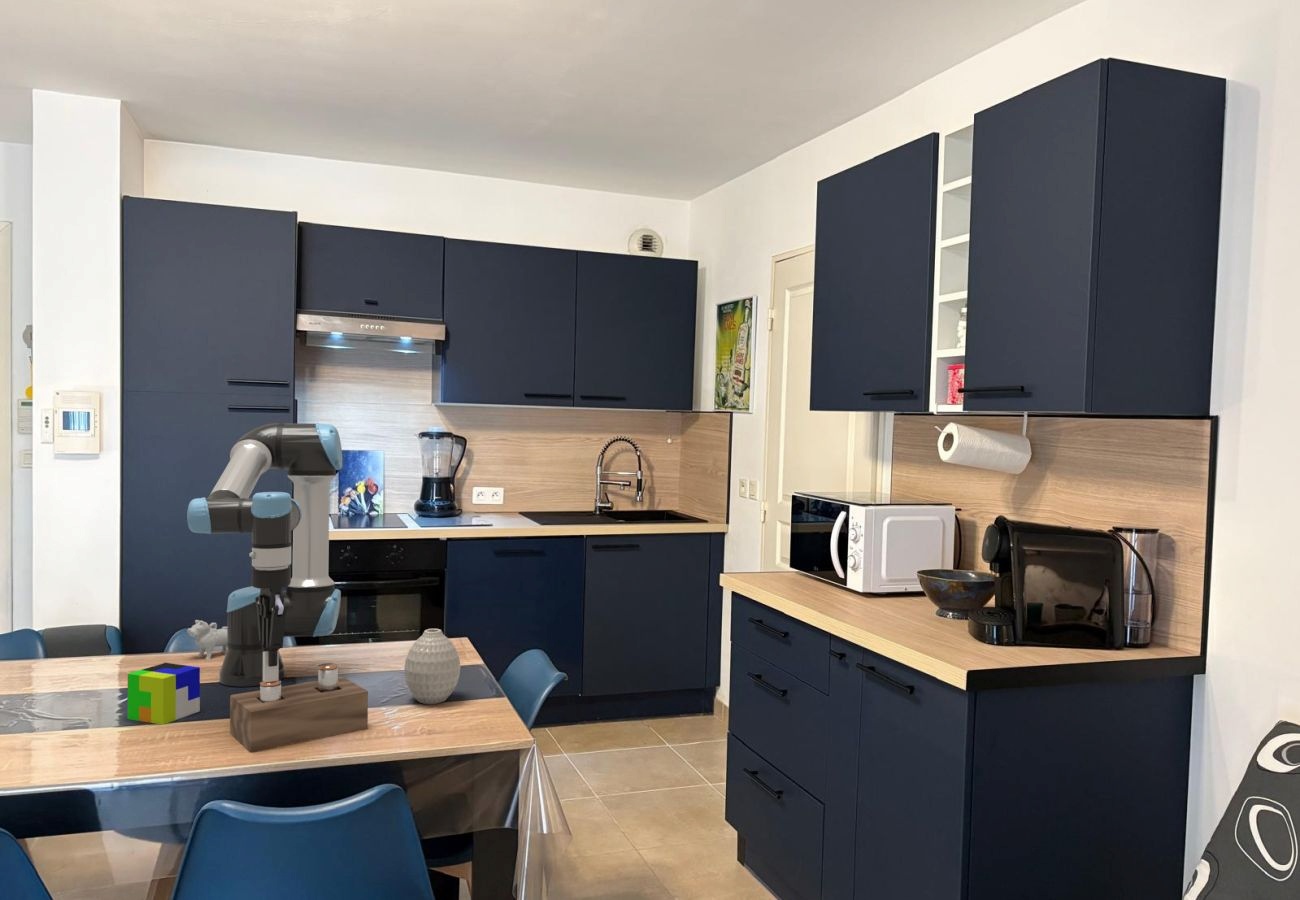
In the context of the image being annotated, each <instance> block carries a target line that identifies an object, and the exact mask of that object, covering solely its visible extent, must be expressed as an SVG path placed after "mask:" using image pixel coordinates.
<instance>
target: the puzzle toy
mask: <svg viewBox="0 0 1300 900" xmlns="http://www.w3.org/2000/svg"><path fill="white" fill-rule="evenodd" d="M200 701H201V667H200V666H192V665H185V664H178V663H170V662H169V663H168V662H163V663H160V664H156V665H154V666H150V667H147V668H143V669H139V670H136V671H133V672H129V673H127V720H130V721H131V720H132V721H137V722H145V723H150V724H151V723H152V724H156V725H157V724H158V725H162V726H163V725H167V724H169V723H172V722H175V721H176V720H180V719H182V718H185V717H188V716H190V715H194V714H195V713H199V712H200V711H201V709H200V707H201V706H200V705H201V702H200Z"/></svg>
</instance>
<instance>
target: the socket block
mask: <svg viewBox="0 0 1300 900" xmlns="http://www.w3.org/2000/svg"><path fill="white" fill-rule="evenodd" d="M368 695H369V691H368V690H366V689H365V688H363V687H361V686H360V685H358V684H356V683H355V682H353V681H351V680H349V679H348V678H346V677H344V676H338V690H334V691H328V692H323V693H321V692H319V691H318V680H313V681H308V682H301V683H297V684H296V683H295V684H291V685H285V686H284V685H283V686H281V700H277V701H271V702H265V703H262V702H261V701H260V689H258V690H254V691H248V692H242V693H236V694H231V695H229V697H230V698H229V734H230V736H233V738H234V739H236V741H238V742H239V743H240V744H241V745H242V746H243V747H244V748H245V749H246V748H247V749H246V750H247V751H248V752H249V753H253V752H257V751H258V752H259V751H263V750H267V749H274V748H278V747H277V746H279V747H283V746H282V745H284V746H288V745H292V744H291V743H293V744H297V742H298V743H301V742H306V741H312V740H317V739H322V738H326V737H332V736H336V735H341V734H342V735H343V734H347V733H351V732H356V731H361V730H366V729H369V726H368V724H369V723H368V721H369V718H368V717H369V716H368V715H369V714H368V713H369V710H368V709H369V696H368ZM287 744H288V745H287ZM273 747H274V748H273Z"/></svg>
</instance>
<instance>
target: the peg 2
mask: <svg viewBox="0 0 1300 900" xmlns="http://www.w3.org/2000/svg"><path fill="white" fill-rule="evenodd" d="M317 667H318V668H317V669H318V670H317V677H318V679H317V681H318V691H319V692H321V693H323V692H328V691H334V690H338V677H339V664H338V663H337V662H335V663H334V662H325V663H321V664H318V666H317Z"/></svg>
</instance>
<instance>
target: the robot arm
mask: <svg viewBox="0 0 1300 900" xmlns="http://www.w3.org/2000/svg"><path fill="white" fill-rule="evenodd" d="M342 448H343V447H342V442H341V438H340V434H339V431H338V429H337V427H336V426H334V425H333V424H326V423H319V422H317V423H297V422H296V423H295V422H294V423H293V422H292V423H290V422H289V423H287V422H286V423H282V422H273V423H267V424H263V425H261V426H259V427H255V428H254V429H252V430H251V431H250V430H249V432H247V433H245V434H244V435H242V436H241V437H240V438H239V439H238V440H237V441H236V442H235V443H234V445H233V447H231V449H230V452H229V459H230V460H229V462H228V464H227V465H226V467H225V469H224V470H223V472H222V474H221V476H220V477H219V478H218V480H217V482H216V484H215V486H214V487H213V488H212V491H211V492H210V494H209V496H208V497H205V496H204V497H203V496H202V497H201V498H200V497H199V498H194V499H191V500H190V502H189V503H188V507H187V515H186V516H187V517H186V518H187V526H188V529H189V531H191V532H192V533H195V534H208V535H212V534H213V535H214V534H251V552H249V554H248V555H249V557H250V558H251V566H252V567H254V568H252V570H251V580H250V581H251V586H247V587H243V588H239V589H236V590H234V591H232V592H231V593H230V594H229V595H228V598H227V609H226V615H227V617H226V618H227V619H226V620H227V621H226V622H227V623H226V624H227V625H226V627H227V648H226V653H225V656H224V659H223V662H222V665H221V668H220V671H219V683H220V684H222V685H224V686H228V687H255V686H260V682H261V681H263V682H265V683H266V682H272V681H278V679H279V680H281V681H282V679H284V677H285V673H286V672H285V669H286V668H285V664H284V662H283V660H282V656H281V653H280V649H283V647H284V638H289V637H291V638H292V637H313V638H316V637H324V636H328V635H329V636H330V635H331V634H333V632H334V631H335V629H336V626H337V622H338V620H339V619H338V618H339V614H340V609H341V601H342V600H341V595H342V594H341V593H342V592H341V590H340V589H338V588H335V585H336V584H335V581H334V580H333V579H332V578H331V577H330V576H329V565H330V564H329V561H330V560H329V555H330V554H329V550H330V549H329V547H330V545H329V544H330V484H331V483H332V481H333V480H334V479H335V478H336V477H337V471H340V470H341V469H342V468H343V465H344V464H343V450H342ZM271 469H272V470H276V469H277V470H278V469H279V470H287V478H289V480H291V481H292V483H293V498H292V497H291V494H290V493H289V492H283V491H263V492H256V493H254V495H253V496H252V498H250V496H251V494H252V492H253V490H254V488H255V486H256V485H257V482H258V481H259V478H260V476H261V475H262V474H264V473H266V472H267V471H269V470H271ZM336 470H337V471H336ZM292 531H293V533H292ZM292 537H293V538H292ZM291 538H292V539H291ZM291 541H292V542H291ZM291 543H292V545H291ZM292 546H293V547H292ZM291 564H292V570H291V568H290V565H291ZM291 573H292V574H291ZM291 576H292V577H291ZM283 588H285V590H283Z"/></svg>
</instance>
